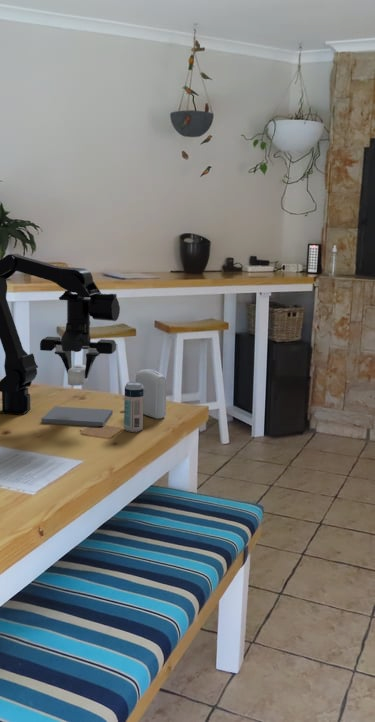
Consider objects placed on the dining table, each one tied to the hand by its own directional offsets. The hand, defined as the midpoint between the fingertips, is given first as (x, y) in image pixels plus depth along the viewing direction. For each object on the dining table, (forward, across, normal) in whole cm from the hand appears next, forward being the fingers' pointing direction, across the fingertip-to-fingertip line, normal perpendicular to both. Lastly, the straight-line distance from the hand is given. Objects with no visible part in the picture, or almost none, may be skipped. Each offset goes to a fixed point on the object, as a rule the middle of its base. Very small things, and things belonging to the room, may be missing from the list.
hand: (78, 377), depth 180 cm
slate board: (+11, 0, 0) cm, 11 cm away
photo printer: (+11, +18, +8) cm, 23 cm away
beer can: (+11, +16, -7) cm, 21 cm away
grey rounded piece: (+1, 0, +1) cm, 2 cm away
